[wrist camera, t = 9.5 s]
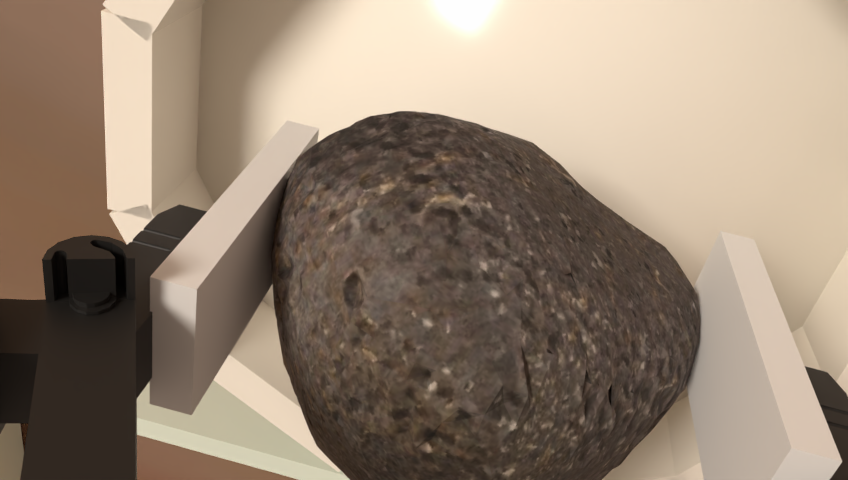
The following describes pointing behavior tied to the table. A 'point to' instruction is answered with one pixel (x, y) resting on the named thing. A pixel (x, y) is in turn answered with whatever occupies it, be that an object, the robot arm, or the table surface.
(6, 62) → the table surface
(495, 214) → the stone
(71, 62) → the table surface
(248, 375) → the bowl
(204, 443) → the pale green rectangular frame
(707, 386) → the robot arm
